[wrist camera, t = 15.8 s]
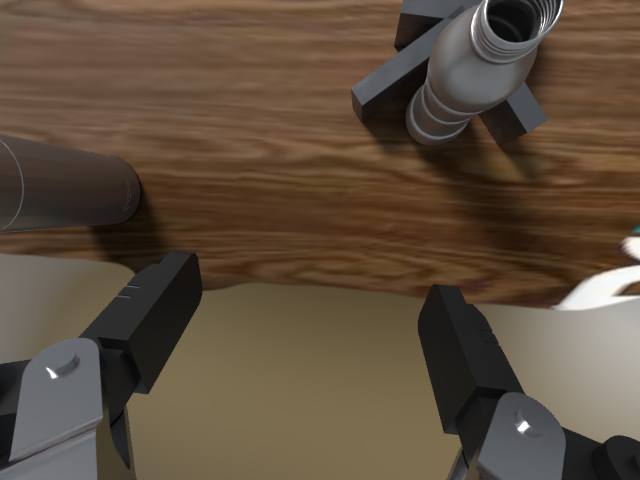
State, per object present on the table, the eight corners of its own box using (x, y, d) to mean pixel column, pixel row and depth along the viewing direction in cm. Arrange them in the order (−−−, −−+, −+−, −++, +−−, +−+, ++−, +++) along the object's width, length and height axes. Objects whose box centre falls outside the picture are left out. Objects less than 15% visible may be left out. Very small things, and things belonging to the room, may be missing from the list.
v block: (350, 120, 35) (347, 103, 29) (375, -6, 33) (378, -51, 28) (511, 147, 33) (543, 135, 27) (548, 16, 31) (592, -28, 25)
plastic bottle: (474, 121, 33) (632, 4, 14) (424, 161, 35) (504, 106, 15) (438, 77, 33) (545, -104, 14) (390, 119, 35) (424, 7, 15)
